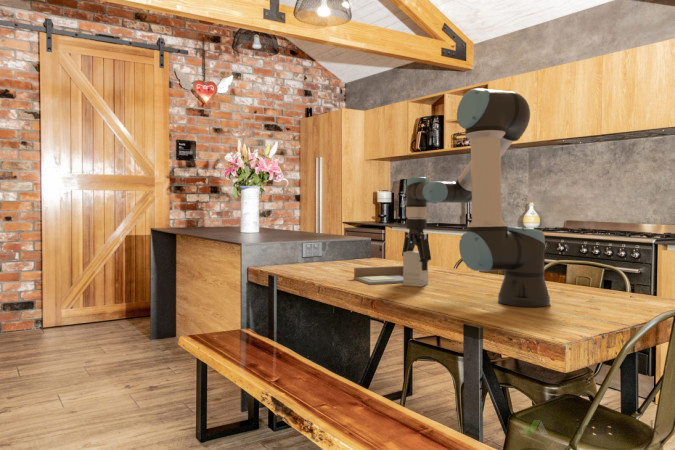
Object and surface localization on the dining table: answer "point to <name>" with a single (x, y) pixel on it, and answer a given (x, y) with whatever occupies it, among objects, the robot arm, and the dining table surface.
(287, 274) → the dining table surface
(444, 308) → the dining table surface
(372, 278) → the pad
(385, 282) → the brown tray
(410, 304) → the dining table surface
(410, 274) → the supplement box
